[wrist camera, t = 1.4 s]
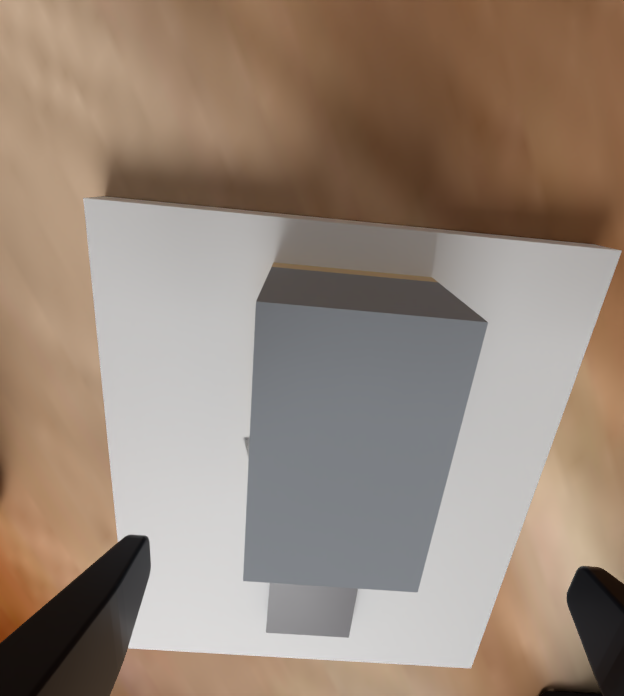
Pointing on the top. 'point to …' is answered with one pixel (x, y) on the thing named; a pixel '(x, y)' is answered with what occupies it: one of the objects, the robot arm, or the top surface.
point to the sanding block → (353, 424)
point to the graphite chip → (310, 610)
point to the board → (235, 413)
